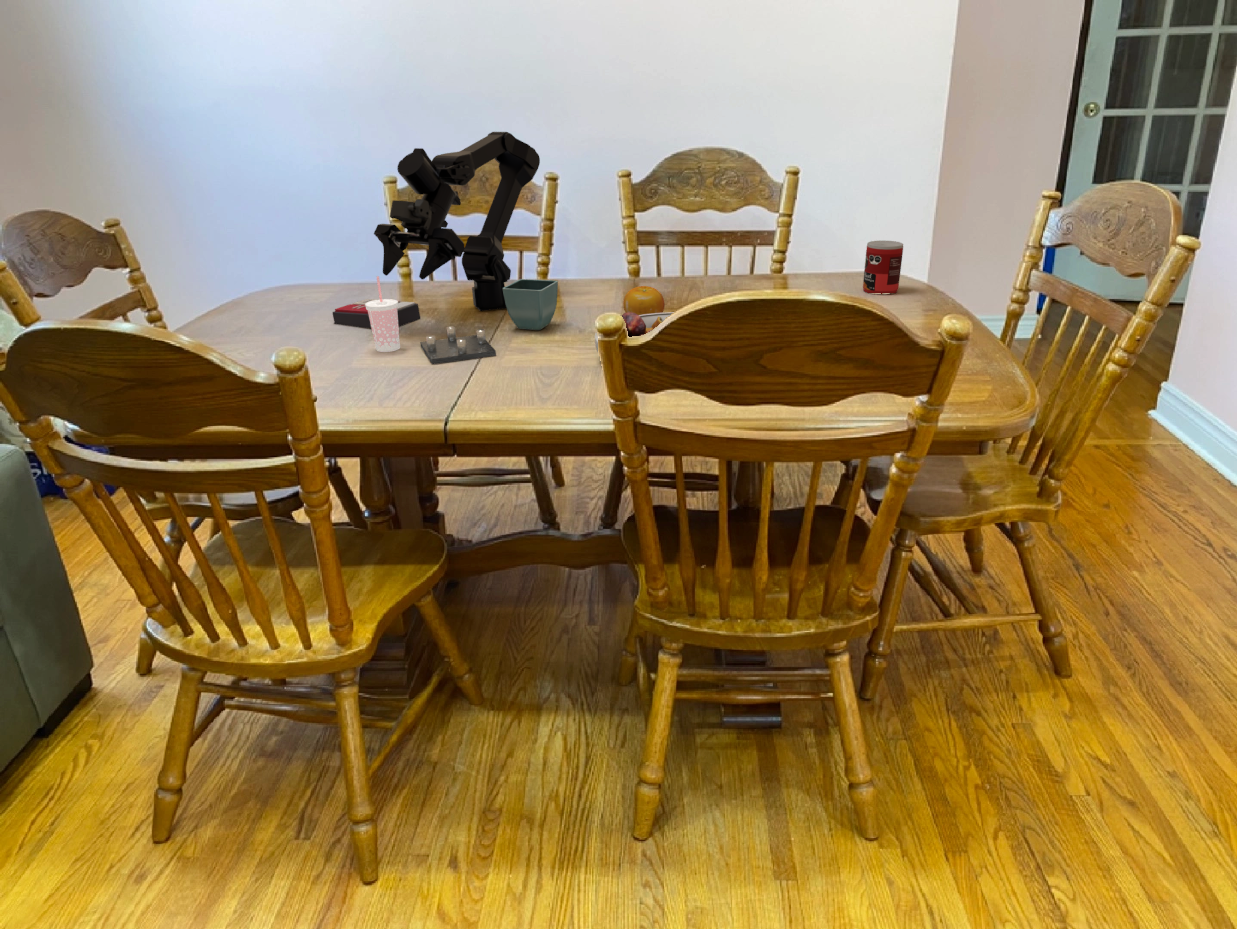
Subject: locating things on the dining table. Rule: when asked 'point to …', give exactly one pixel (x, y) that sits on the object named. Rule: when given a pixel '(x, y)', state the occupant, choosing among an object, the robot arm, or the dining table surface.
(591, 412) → the dining table surface
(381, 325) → the beverage cup
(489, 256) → the robot arm
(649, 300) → the fruit
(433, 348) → the chassis plate
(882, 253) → the canned food
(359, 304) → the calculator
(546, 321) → the flower pot
